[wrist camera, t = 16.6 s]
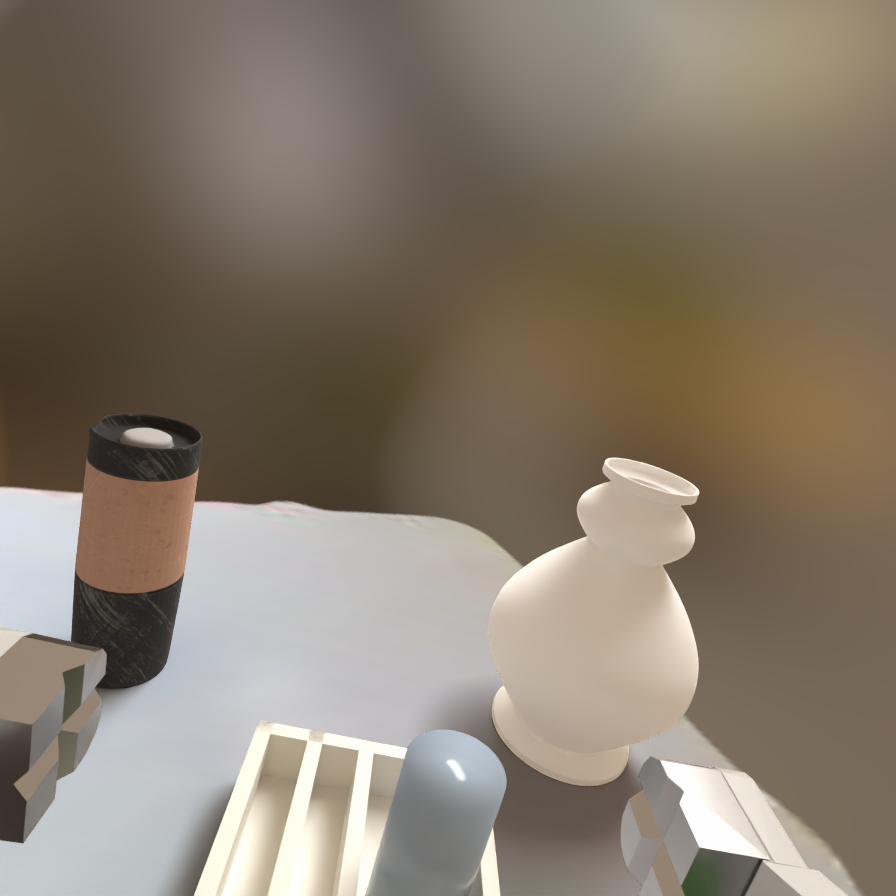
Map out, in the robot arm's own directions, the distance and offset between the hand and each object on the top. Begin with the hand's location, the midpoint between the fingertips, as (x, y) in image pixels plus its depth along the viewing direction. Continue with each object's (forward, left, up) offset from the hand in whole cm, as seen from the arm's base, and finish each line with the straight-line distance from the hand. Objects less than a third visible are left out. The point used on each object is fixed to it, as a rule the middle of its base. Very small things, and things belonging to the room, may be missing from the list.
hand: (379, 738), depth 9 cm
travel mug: (-18, +37, -30) cm, 51 cm away
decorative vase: (+20, +39, -30) cm, 53 cm away
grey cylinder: (+6, +19, -29) cm, 35 cm away
